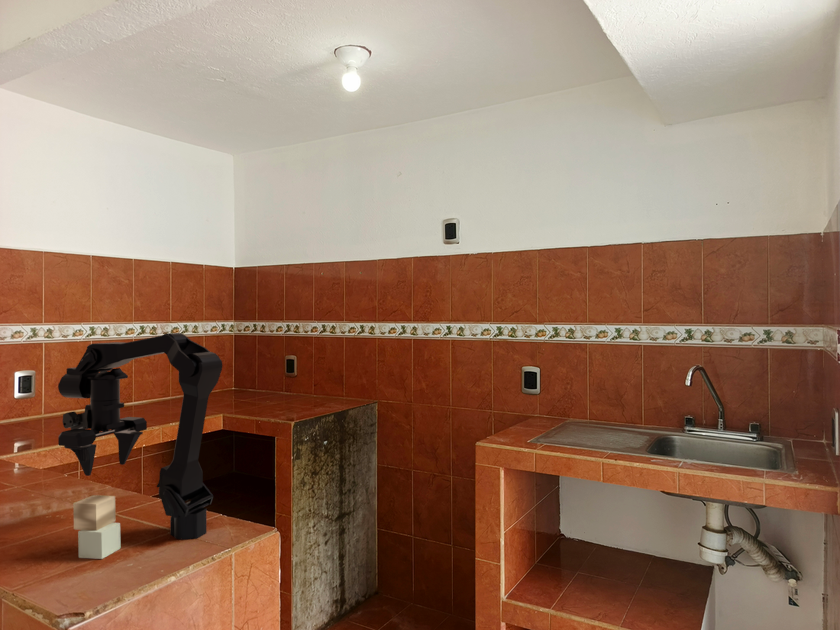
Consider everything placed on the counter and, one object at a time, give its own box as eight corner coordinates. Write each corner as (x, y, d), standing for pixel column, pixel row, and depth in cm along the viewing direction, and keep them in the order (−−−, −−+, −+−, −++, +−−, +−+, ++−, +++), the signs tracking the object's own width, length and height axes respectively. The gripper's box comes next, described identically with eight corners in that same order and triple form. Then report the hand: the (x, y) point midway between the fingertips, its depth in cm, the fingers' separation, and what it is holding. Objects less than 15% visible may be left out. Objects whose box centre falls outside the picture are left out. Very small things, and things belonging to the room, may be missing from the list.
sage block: (120, 548, 110) (120, 522, 110) (101, 559, 105) (101, 532, 106) (98, 547, 111) (97, 521, 111) (78, 557, 106) (78, 531, 106)
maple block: (115, 521, 111) (115, 496, 112) (96, 530, 107) (96, 504, 107) (93, 520, 112) (93, 495, 112) (73, 529, 108) (73, 503, 108)
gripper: (110, 392, 135) (111, 457, 135) (37, 404, 117) (38, 478, 117) (148, 394, 132) (148, 460, 132) (79, 406, 114) (79, 483, 114)
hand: (105, 469), depth 124 cm, fingers open, 9 cm apart
